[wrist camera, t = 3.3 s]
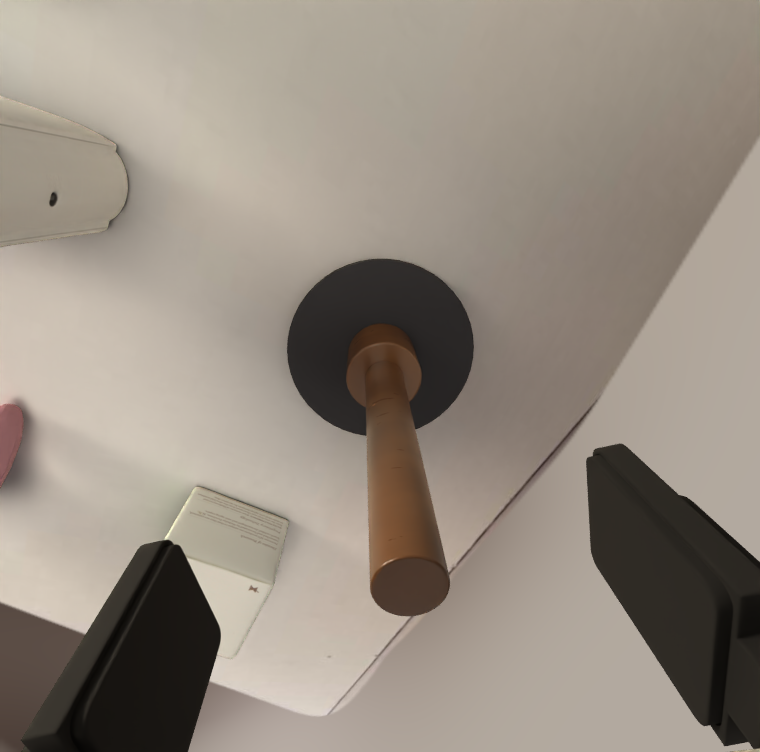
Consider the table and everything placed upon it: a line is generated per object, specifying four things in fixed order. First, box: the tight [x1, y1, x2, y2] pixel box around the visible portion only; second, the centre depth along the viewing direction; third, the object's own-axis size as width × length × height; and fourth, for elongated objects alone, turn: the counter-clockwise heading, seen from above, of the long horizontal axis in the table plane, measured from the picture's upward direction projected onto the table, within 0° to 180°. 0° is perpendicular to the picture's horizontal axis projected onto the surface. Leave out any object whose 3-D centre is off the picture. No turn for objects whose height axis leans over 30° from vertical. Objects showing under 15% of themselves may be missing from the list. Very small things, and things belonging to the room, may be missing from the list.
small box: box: [164, 487, 289, 659], centre depth 24 cm, size 6×6×5 cm
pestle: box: [346, 324, 450, 616], centre depth 16 cm, size 3×3×14 cm
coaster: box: [287, 259, 474, 436], centre depth 22 cm, size 9×9×1 cm
